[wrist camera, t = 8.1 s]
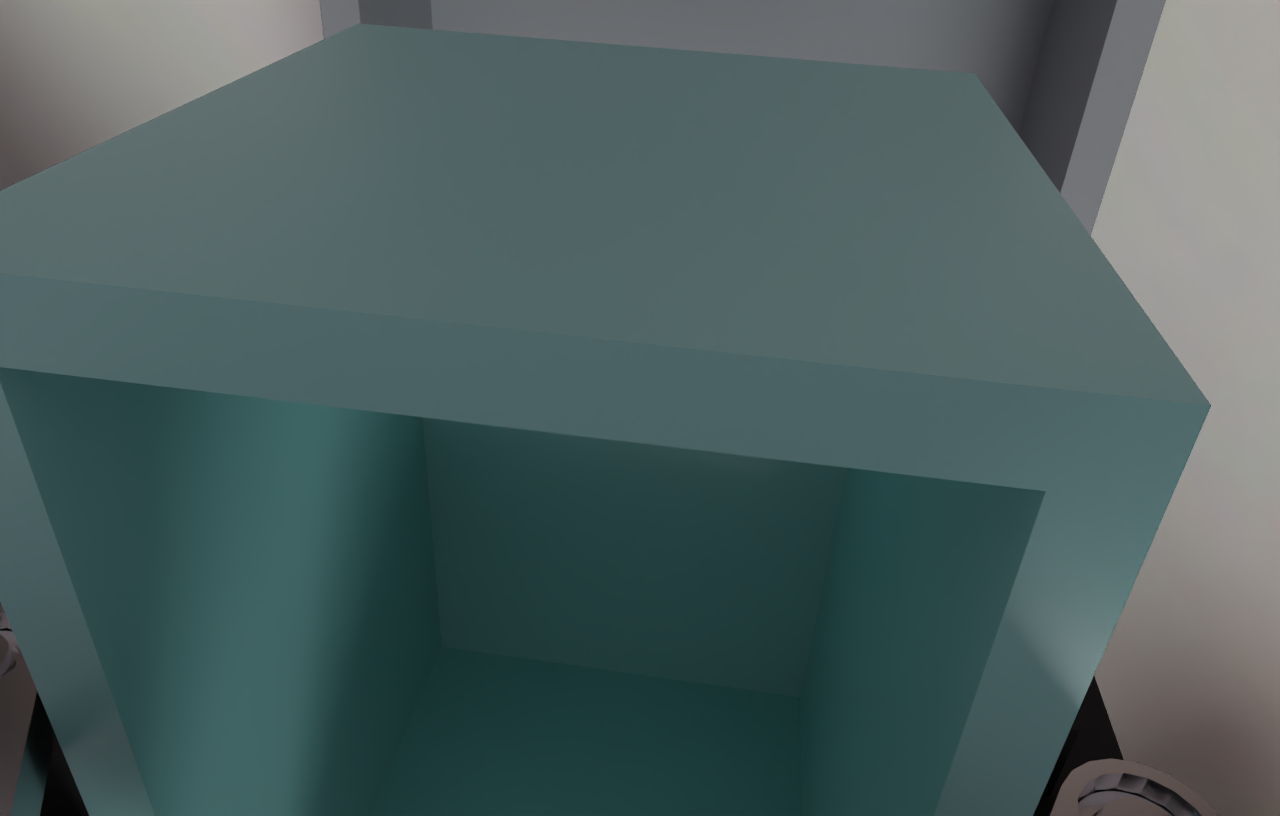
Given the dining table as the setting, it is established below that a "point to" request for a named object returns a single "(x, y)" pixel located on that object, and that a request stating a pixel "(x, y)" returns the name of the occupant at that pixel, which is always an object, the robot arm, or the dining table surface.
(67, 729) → the teal crate
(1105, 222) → the dining table surface
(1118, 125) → the charcoal crate
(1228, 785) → the dining table surface
